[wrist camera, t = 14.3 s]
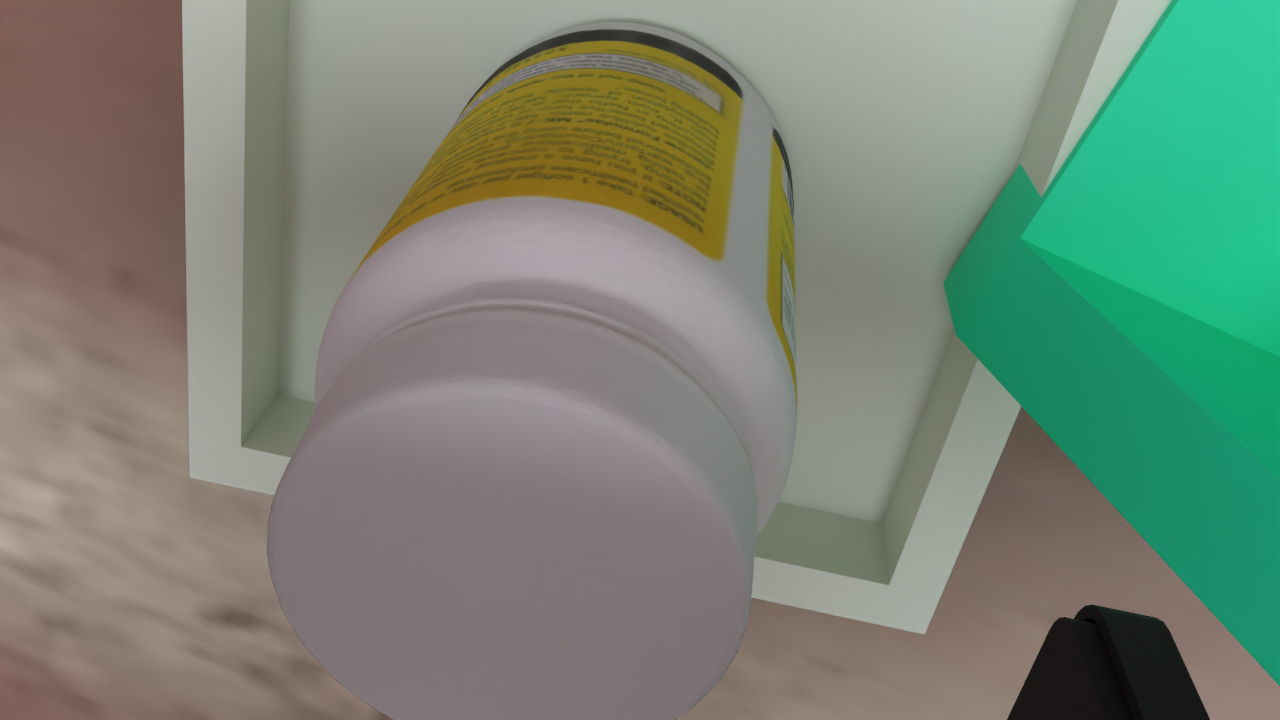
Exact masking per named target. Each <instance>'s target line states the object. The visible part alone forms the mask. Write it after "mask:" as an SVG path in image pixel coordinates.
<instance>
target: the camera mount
mask: <svg viewBox="0 0 1280 720" xmlns="http://www.w3.org/2000/svg"><path fill="white" fill-rule="evenodd" d="M943 285H944V289H945V293H946V297H947V301H948V305H949V309H950V314H951V318H952V322H953V326H954V330H955V334H956V336H957V337H958V338H959V339H960V340H961V341H962V342H963V343H964V344H965V346H966V347H967V348H968V349H969V350H970V351H971V352H972V353H973V354H974V355H975V356H976V357H977V359H978V360H979V361H980V362H981V363H982V364H983V365H984V366H985V367H986V368H987V369H988V370H989V372H990V373H991V374H992V375H993V376H994V377H995V378H996V379H997V380H998V381H999V382H1000V383H1001V385H1002V386H1003V387H1004V388H1005V389H1006V390H1007V391H1008V392H1009V393H1010V394H1011V395H1012V396H1013V398H1014V399H1015V400H1016V401H1017V402H1018V403H1019V404H1020V405H1021V406H1022V407H1023V408H1024V409H1025V411H1026V412H1027V413H1028V414H1029V415H1030V416H1031V417H1032V418H1033V419H1034V420H1035V421H1036V422H1037V424H1038V425H1039V426H1040V427H1041V428H1042V429H1043V430H1044V431H1045V432H1046V433H1047V434H1048V435H1049V437H1050V438H1051V439H1052V440H1053V441H1054V442H1055V443H1056V444H1057V445H1058V446H1059V447H1060V449H1061V450H1062V451H1063V452H1064V453H1065V454H1066V455H1067V456H1068V457H1069V458H1070V459H1071V460H1072V462H1073V463H1074V464H1075V465H1076V466H1077V467H1078V468H1079V469H1080V470H1081V471H1082V472H1083V473H1084V475H1085V476H1086V477H1087V478H1088V479H1089V480H1090V481H1091V482H1092V483H1093V484H1094V485H1095V486H1096V488H1097V489H1098V490H1099V491H1100V492H1101V493H1102V494H1103V495H1104V496H1105V497H1106V498H1107V499H1108V501H1109V502H1110V503H1111V504H1112V505H1113V506H1114V507H1115V508H1116V509H1117V510H1118V511H1119V512H1120V514H1121V515H1122V516H1123V517H1124V518H1125V519H1126V520H1127V521H1128V522H1129V523H1130V524H1131V525H1132V527H1133V528H1134V529H1135V530H1136V531H1137V532H1138V533H1139V534H1140V535H1141V536H1142V537H1143V538H1144V540H1145V541H1146V542H1147V543H1148V544H1149V545H1150V546H1151V547H1152V548H1153V549H1154V550H1155V551H1156V553H1157V554H1158V555H1159V556H1160V557H1161V558H1162V559H1163V560H1164V561H1165V562H1166V563H1167V564H1168V566H1169V567H1170V568H1171V569H1172V570H1173V571H1174V572H1175V573H1176V574H1177V575H1178V576H1179V577H1180V579H1181V580H1182V581H1183V582H1184V583H1185V584H1186V585H1187V586H1188V587H1189V588H1190V589H1191V590H1192V592H1193V593H1194V594H1195V595H1196V596H1197V597H1198V598H1199V599H1200V600H1201V601H1202V602H1203V603H1204V605H1205V606H1206V607H1207V608H1208V609H1209V610H1210V611H1211V612H1212V613H1213V614H1214V615H1215V616H1216V618H1217V619H1218V620H1219V621H1220V622H1221V623H1222V624H1223V625H1224V626H1225V627H1226V628H1227V629H1228V631H1229V632H1230V633H1231V634H1232V635H1233V636H1234V637H1235V638H1236V639H1237V640H1238V641H1239V642H1240V644H1241V645H1242V646H1243V647H1244V648H1245V649H1246V650H1247V651H1248V652H1249V653H1250V654H1251V656H1252V657H1253V658H1254V659H1255V660H1256V661H1257V662H1258V663H1259V664H1260V665H1261V666H1262V667H1263V669H1264V670H1265V671H1266V672H1267V673H1268V674H1269V675H1270V676H1271V677H1272V678H1273V679H1274V680H1275V682H1276V683H1277V684H1278V685H1279V686H1280V0H1172V1H1171V2H1170V4H1169V5H1168V7H1167V8H1166V10H1165V11H1164V13H1163V14H1162V16H1161V17H1160V19H1159V20H1158V22H1157V23H1156V25H1155V26H1154V28H1153V29H1152V31H1151V32H1150V34H1149V35H1148V37H1147V38H1146V40H1145V41H1144V43H1143V44H1142V46H1141V47H1140V49H1139V50H1138V52H1137V53H1136V55H1135V56H1134V58H1133V59H1132V61H1131V62H1130V64H1129V65H1128V67H1127V68H1126V70H1125V71H1124V73H1123V75H1122V76H1121V78H1120V79H1119V81H1118V82H1117V84H1116V85H1115V87H1114V88H1113V90H1112V91H1111V93H1110V94H1109V96H1108V97H1107V99H1106V100H1105V102H1104V103H1103V105H1102V106H1101V108H1100V109H1099V111H1098V112H1097V114H1096V115H1095V117H1094V118H1093V120H1092V121H1091V123H1090V124H1089V126H1088V127H1087V129H1086V130H1085V132H1084V133H1083V135H1082V136H1081V138H1080V139H1079V141H1078V142H1077V144H1076V145H1075V147H1074V148H1073V150H1072V151H1071V153H1070V154H1069V156H1068V157H1067V159H1066V160H1065V162H1064V164H1063V165H1062V167H1061V168H1060V170H1059V171H1058V173H1057V174H1056V176H1055V177H1054V179H1053V180H1052V182H1051V183H1050V185H1049V186H1048V188H1047V189H1046V191H1045V192H1044V194H1043V195H1042V197H1041V196H1040V194H1039V193H1038V191H1037V190H1036V188H1035V186H1034V185H1033V183H1032V181H1031V180H1030V178H1029V176H1028V175H1027V173H1026V171H1025V170H1024V168H1023V167H1022V165H1021V163H1020V164H1019V166H1018V167H1017V169H1016V170H1015V172H1014V173H1013V175H1012V177H1011V178H1010V180H1009V181H1008V183H1007V184H1006V186H1005V187H1004V189H1003V191H1002V192H1001V194H1000V195H999V197H998V198H997V200H996V202H995V203H994V205H993V206H992V208H991V209H990V211H989V212H988V214H987V216H986V217H985V219H984V220H983V222H982V223H981V225H980V226H979V228H978V230H977V231H976V233H975V234H974V236H973V237H972V239H971V240H970V242H969V244H968V245H967V247H966V248H965V250H964V251H963V253H962V254H961V256H960V258H959V259H958V261H957V262H956V264H955V265H954V267H953V269H952V270H951V272H950V273H949V275H948V276H947V278H946V279H945V281H944V283H943Z"/></svg>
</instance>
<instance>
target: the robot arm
mask: <svg viewBox="0 0 1280 720" xmlns="http://www.w3.org/2000/svg"><path fill="white" fill-rule="evenodd" d="M1007 720H1210V719H1209V716H1208V714H1207V712H1206V710H1205V708H1204V705H1203V703H1202V701H1201V699H1200V697H1199V694H1198V692H1197V690H1196V688H1195V686H1194V684H1193V681H1192V679H1191V677H1190V675H1189V673H1188V670H1187V668H1186V666H1185V664H1184V662H1183V659H1182V657H1181V655H1180V653H1179V651H1178V648H1177V646H1176V644H1175V642H1174V640H1173V637H1172V635H1171V633H1170V631H1169V630H1168V628H1167V626H1166V625H1165V623H1164V622H1163V621H1161V620H1159V619H1157V618H1155V617H1150V616H1145V615H1140V614H1135V613H1130V612H1125V611H1120V610H1115V609H1111V608H1106V607H1101V606H1096V605H1088V606H1085V607H1083V608H1082V609H1081V610H1080V611H1079V612H1078V613H1077V615H1076V616H1075V618H1074V619H1070V618H1065V617H1063V618H1059V619H1058V620H1057V621H1055V622H1054V624H1053V625H1052V627H1051V629H1050V630H1049V632H1048V635H1047V637H1046V639H1045V641H1044V643H1043V645H1042V647H1041V649H1040V651H1039V654H1038V656H1037V658H1036V660H1035V662H1034V664H1033V666H1032V668H1031V670H1030V672H1029V675H1028V677H1027V679H1026V681H1025V683H1024V685H1023V687H1022V689H1021V691H1020V694H1019V696H1018V698H1017V700H1016V702H1015V704H1014V706H1013V708H1012V710H1011V713H1010V715H1009V717H1008V719H1007Z"/></svg>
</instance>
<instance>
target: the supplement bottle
mask: <svg viewBox="0 0 1280 720" xmlns="http://www.w3.org/2000/svg"><path fill="white" fill-rule="evenodd" d="M794 242H795V241H794V200H793V183H792V175H791V167H790V162H789V157H788V153H787V150H786V146H785V143H784V140H783V137H782V135H781V132H780V130H779V128H778V126H777V124H776V122H775V119H774V117H773V116H772V114H771V112H770V111H769V109H768V107H767V106H766V104H765V103H764V101H763V100H762V98H761V97H760V96H759V94H758V93H757V92H756V91H755V90H754V88H753V87H752V86H751V85H750V84H749V83H748V82H747V81H746V79H744V78H743V77H742V76H741V75H740V74H739V73H738V72H737V71H736V70H735V69H734V68H732V67H731V66H730V65H729V64H728V63H727V62H726V61H724V60H723V59H721V58H720V57H718V56H717V55H716V54H714V53H713V52H711V51H710V50H709V49H707V48H705V47H703V46H701V45H700V44H698V43H696V42H694V41H692V40H690V39H688V38H686V37H684V36H682V35H679V34H677V33H674V32H671V31H668V30H665V29H662V28H658V27H654V26H649V25H644V24H637V23H628V22H602V23H593V24H586V25H580V26H576V27H572V28H567V29H564V30H561V31H559V32H556V33H553V34H550V35H548V36H546V37H544V38H541V39H539V40H537V41H535V42H534V43H532V44H530V45H528V46H526V47H525V48H523V49H522V50H520V51H518V52H517V53H515V54H514V55H513V56H511V57H510V58H509V59H507V60H506V61H505V62H504V63H503V64H502V65H501V66H500V67H499V68H498V69H497V70H496V71H495V72H494V73H493V74H492V75H491V76H490V77H489V78H488V79H487V80H486V81H485V82H484V83H483V84H482V86H481V87H480V88H479V89H478V90H477V91H476V93H475V94H474V95H473V96H472V97H471V99H470V100H469V102H468V103H467V105H466V106H465V108H464V109H463V111H462V112H461V114H460V116H459V117H458V119H457V121H456V122H455V123H454V125H453V126H452V128H451V130H450V131H449V133H448V134H447V136H446V137H445V138H444V140H443V141H442V143H441V144H440V145H439V147H438V148H437V150H436V151H435V153H434V154H433V156H432V157H431V159H430V160H429V162H428V163H427V165H426V166H425V168H424V169H423V171H422V172H421V174H420V175H419V177H418V178H417V180H416V181H415V183H414V184H413V186H412V187H411V189H410V190H409V192H408V193H407V195H406V196H405V198H404V199H403V201H402V202H401V204H400V205H399V207H398V208H397V210H396V211H395V213H394V214H393V216H392V217H391V219H390V220H389V222H388V223H387V224H386V226H385V227H384V229H383V230H382V232H381V233H380V235H379V236H378V238H377V239H376V241H375V242H374V244H373V245H372V247H371V248H370V250H369V251H368V253H367V254H366V256H365V257H364V259H363V260H362V262H361V263H360V265H359V266H358V268H357V269H356V271H355V272H354V273H353V275H352V276H351V278H350V279H349V281H348V282H347V284H346V286H345V287H344V289H343V291H342V292H341V294H340V296H339V298H338V299H337V301H336V303H335V305H334V308H333V310H332V313H331V315H330V318H329V320H328V323H327V325H326V328H325V331H324V334H323V337H322V341H321V344H320V348H319V353H318V359H317V365H316V375H315V403H316V409H315V411H314V413H313V415H312V418H311V420H310V422H309V425H308V427H307V429H306V431H305V433H304V435H303V437H302V439H301V441H300V443H299V445H298V447H297V448H296V450H295V452H294V454H293V456H292V457H291V459H290V461H289V463H288V465H287V467H286V469H285V471H284V474H283V476H282V478H281V480H280V482H279V485H278V487H277V489H276V492H275V495H274V499H273V503H272V506H271V511H270V516H269V522H268V539H267V555H268V561H269V567H270V573H271V578H272V582H273V585H274V588H275V591H276V594H277V597H278V599H279V602H280V605H281V607H282V609H283V611H284V613H285V615H286V617H287V619H288V621H289V623H290V625H291V626H292V628H293V629H294V631H295V633H296V634H297V636H298V637H299V639H300V640H301V642H302V643H303V645H304V646H305V647H306V648H307V650H308V651H309V652H310V653H311V654H312V656H313V657H314V658H316V659H317V661H318V662H319V663H320V664H321V665H322V667H323V668H324V669H325V670H326V671H327V672H328V673H329V674H330V675H331V676H332V677H333V678H334V679H335V680H337V681H338V682H339V683H340V684H341V685H342V686H343V687H345V688H346V689H347V690H349V691H350V692H351V693H353V694H354V695H355V696H357V697H358V698H359V699H361V700H362V701H364V702H365V703H367V704H368V705H370V706H371V707H373V708H374V709H376V710H378V711H379V712H381V713H383V714H385V715H387V716H388V717H390V718H392V719H393V720H676V719H678V718H679V717H681V716H682V715H684V714H685V713H686V712H687V711H689V710H690V709H691V708H692V707H694V706H695V705H696V704H697V703H698V702H699V701H700V700H701V699H702V698H704V697H705V696H706V695H707V694H708V692H709V691H710V690H711V689H712V688H713V687H714V686H715V685H716V683H717V682H718V681H719V680H720V679H721V678H722V676H723V675H724V673H725V672H726V670H727V669H728V667H729V665H730V664H731V662H732V660H733V658H734V657H735V655H736V653H737V651H738V649H739V646H740V643H741V640H742V638H743V635H744V632H745V630H746V626H747V621H748V617H749V613H750V606H751V596H752V584H753V570H754V556H755V545H756V539H757V536H758V534H759V533H760V532H761V530H762V529H763V528H764V526H765V525H766V523H767V522H768V520H769V519H770V517H771V515H772V513H773V511H774V509H775V507H776V505H777V503H778V501H779V499H780V497H781V495H782V492H783V490H784V487H785V484H786V481H787V478H788V475H789V472H790V468H791V462H792V457H793V451H794V444H795V437H796V427H797V375H796V313H795V243H794Z"/></svg>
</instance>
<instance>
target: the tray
mask: <svg viewBox="0 0 1280 720" xmlns="http://www.w3.org/2000/svg"><path fill="white" fill-rule="evenodd" d="M1171 1H1172V0H182V31H183V95H184V160H185V224H186V288H187V352H188V416H189V478H193V479H198V480H203V481H208V482H212V483H217V484H222V485H226V486H231V487H236V488H240V489H245V490H250V491H254V492H259V493H264V494H268V495H273V496H274V495H275V492H276V489H277V487H278V485H279V482H280V480H281V478H282V476H283V474H284V471H285V469H286V467H287V465H288V463H289V461H290V459H291V457H292V456H293V454H294V452H295V450H296V448H297V447H298V445H299V443H300V441H301V439H302V437H303V435H304V433H305V431H306V429H307V427H308V425H309V422H310V420H311V418H312V415H313V413H314V411H315V409H316V403H315V375H316V365H317V359H318V353H319V348H320V344H321V341H322V337H323V334H324V331H325V328H326V325H327V323H328V320H329V318H330V315H331V313H332V310H333V308H334V305H335V303H336V301H337V299H338V298H339V296H340V294H341V292H342V291H343V289H344V287H345V286H346V284H347V282H348V281H349V279H350V278H351V276H352V275H353V273H354V272H355V271H356V269H357V268H358V266H359V265H360V263H361V262H362V260H363V259H364V257H365V256H366V254H367V253H368V251H369V250H370V248H371V247H372V245H373V244H374V242H375V241H376V239H377V238H378V236H379V235H380V233H381V232H382V230H383V229H384V227H385V226H386V224H387V223H388V222H389V220H390V219H391V217H392V216H393V214H394V213H395V211H396V210H397V208H398V207H399V205H400V204H401V202H402V201H403V199H404V198H405V196H406V195H407V193H408V192H409V190H410V189H411V187H412V186H413V184H414V183H415V181H416V180H417V178H418V177H419V175H420V174H421V172H422V171H423V169H424V168H425V166H426V165H427V163H428V162H429V160H430V159H431V157H432V156H433V154H434V153H435V151H436V150H437V148H438V147H439V145H440V144H441V143H442V141H443V140H444V138H445V137H446V136H447V134H448V133H449V131H450V130H451V128H452V126H453V125H454V123H455V122H456V121H457V119H458V117H459V116H460V114H461V112H462V111H463V109H464V108H465V106H466V105H467V103H468V102H469V100H470V99H471V97H472V96H473V95H474V94H475V93H476V91H477V90H478V89H479V88H480V87H481V86H482V84H483V83H484V82H485V81H486V80H487V79H488V78H489V77H490V76H491V75H492V74H493V73H494V72H495V71H496V70H497V69H498V68H499V67H500V66H501V65H502V64H503V63H504V62H505V61H506V60H507V59H509V58H510V57H511V56H513V55H514V54H515V53H517V52H518V51H520V50H522V49H523V48H525V47H526V46H528V45H530V44H532V43H534V42H535V41H537V40H539V39H541V38H544V37H546V36H548V35H550V34H553V33H556V32H559V31H561V30H564V29H567V28H572V27H576V26H580V25H586V24H593V23H602V22H628V23H637V24H644V25H649V26H654V27H658V28H662V29H665V30H668V31H671V32H674V33H677V34H679V35H682V36H684V37H686V38H688V39H690V40H692V41H694V42H696V43H698V44H700V45H701V46H703V47H705V48H707V49H709V50H710V51H711V52H713V53H714V54H716V55H717V56H718V57H720V58H721V59H723V60H724V61H726V62H727V63H728V64H729V65H730V66H731V67H732V68H734V69H735V70H736V71H737V72H738V73H739V74H740V75H741V76H742V77H743V78H744V79H746V81H747V82H748V83H749V84H750V85H751V86H752V87H753V88H754V90H755V91H756V92H757V93H758V94H759V96H760V97H761V98H762V100H763V101H764V103H765V104H766V106H767V107H768V109H769V111H770V112H771V114H772V116H773V117H774V119H775V122H776V124H777V126H778V128H779V130H780V132H781V135H782V137H783V140H784V143H785V146H786V150H787V153H788V157H789V162H790V167H791V175H792V183H793V200H794V241H795V242H794V243H795V313H796V375H797V427H796V437H795V444H794V451H793V457H792V462H791V468H790V472H789V475H788V478H787V481H786V484H785V487H784V490H783V492H782V495H781V497H780V499H779V501H778V503H777V505H776V507H775V509H774V511H773V513H772V515H771V517H770V519H769V520H768V522H767V523H766V525H765V526H764V528H763V529H762V530H761V532H760V533H759V534H758V536H757V539H756V545H755V556H754V570H753V584H752V596H751V598H756V599H760V600H765V601H770V602H775V603H779V604H784V605H789V606H793V607H798V608H803V609H807V610H812V611H817V612H821V613H826V614H831V615H835V616H840V617H845V618H849V619H854V620H859V621H864V622H868V623H873V624H878V625H882V626H887V627H892V628H896V629H901V630H906V631H910V632H915V633H920V634H924V635H925V632H926V630H927V628H928V625H929V623H930V621H931V618H932V616H933V613H934V611H935V609H936V606H937V604H938V602H939V599H940V597H941V595H942V592H943V590H944V588H945V585H946V583H947V581H948V578H949V576H950V573H951V571H952V569H953V566H954V564H955V562H956V559H957V557H958V555H959V552H960V550H961V548H962V545H963V543H964V540H965V538H966V536H967V533H968V531H969V529H970V526H971V524H972V522H973V519H974V517H975V515H976V512H977V510H978V508H979V505H980V503H981V500H982V498H983V496H984V493H985V491H986V489H987V486H988V484H989V482H990V479H991V477H992V475H993V472H994V470H995V468H996V465H997V463H998V460H999V458H1000V456H1001V453H1002V451H1003V449H1004V446H1005V444H1006V442H1007V439H1008V437H1009V435H1010V432H1011V430H1012V427H1013V425H1014V423H1015V420H1016V418H1017V416H1018V413H1019V411H1020V409H1021V405H1020V404H1019V403H1018V402H1017V401H1016V400H1015V399H1014V398H1013V396H1012V395H1011V394H1010V393H1009V392H1008V391H1007V390H1006V389H1005V388H1004V387H1003V386H1002V385H1001V383H1000V382H999V381H998V380H997V379H996V378H995V377H994V376H993V375H992V374H991V373H990V372H989V370H988V369H987V368H986V367H985V366H984V365H983V364H982V363H981V362H980V361H979V360H978V359H977V357H976V356H975V355H974V354H973V353H972V352H971V351H970V350H969V349H968V348H967V347H966V346H965V344H964V343H963V342H962V341H961V340H960V339H959V338H958V337H957V336H956V334H955V330H954V326H953V322H952V318H951V314H950V309H949V305H948V301H947V297H946V293H945V289H944V285H943V283H944V281H945V279H946V278H947V276H948V275H949V273H950V272H951V270H952V269H953V267H954V265H955V264H956V262H957V261H958V259H959V258H960V256H961V254H962V253H963V251H964V250H965V248H966V247H967V245H968V244H969V242H970V240H971V239H972V237H973V236H974V234H975V233H976V231H977V230H978V228H979V226H980V225H981V223H982V222H983V220H984V219H985V217H986V216H987V214H988V212H989V211H990V209H991V208H992V206H993V205H994V203H995V202H996V200H997V198H998V197H999V195H1000V194H1001V192H1002V191H1003V189H1004V187H1005V186H1006V184H1007V183H1008V181H1009V180H1010V178H1011V177H1012V175H1013V173H1014V172H1015V170H1016V169H1017V167H1018V166H1019V164H1020V163H1021V165H1022V167H1023V168H1024V170H1025V171H1026V173H1027V175H1028V176H1029V178H1030V180H1031V181H1032V183H1033V185H1034V186H1035V188H1036V190H1037V191H1038V193H1039V194H1040V196H1041V197H1042V195H1043V194H1044V192H1045V191H1046V189H1047V188H1048V186H1049V185H1050V183H1051V182H1052V180H1053V179H1054V177H1055V176H1056V174H1057V173H1058V171H1059V170H1060V168H1061V167H1062V165H1063V164H1064V162H1065V160H1066V159H1067V157H1068V156H1069V154H1070V153H1071V151H1072V150H1073V148H1074V147H1075V145H1076V144H1077V142H1078V141H1079V139H1080V138H1081V136H1082V135H1083V133H1084V132H1085V130H1086V129H1087V127H1088V126H1089V124H1090V123H1091V121H1092V120H1093V118H1094V117H1095V115H1096V114H1097V112H1098V111H1099V109H1100V108H1101V106H1102V105H1103V103H1104V102H1105V100H1106V99H1107V97H1108V96H1109V94H1110V93H1111V91H1112V90H1113V88H1114V87H1115V85H1116V84H1117V82H1118V81H1119V79H1120V78H1121V76H1122V75H1123V73H1124V71H1125V70H1126V68H1127V67H1128V65H1129V64H1130V62H1131V61H1132V59H1133V58H1134V56H1135V55H1136V53H1137V52H1138V50H1139V49H1140V47H1141V46H1142V44H1143V43H1144V41H1145V40H1146V38H1147V37H1148V35H1149V34H1150V32H1151V31H1152V29H1153V28H1154V26H1155V25H1156V23H1157V22H1158V20H1159V19H1160V17H1161V16H1162V14H1163V13H1164V11H1165V10H1166V8H1167V7H1168V5H1169V4H1170V2H1171Z"/></svg>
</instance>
